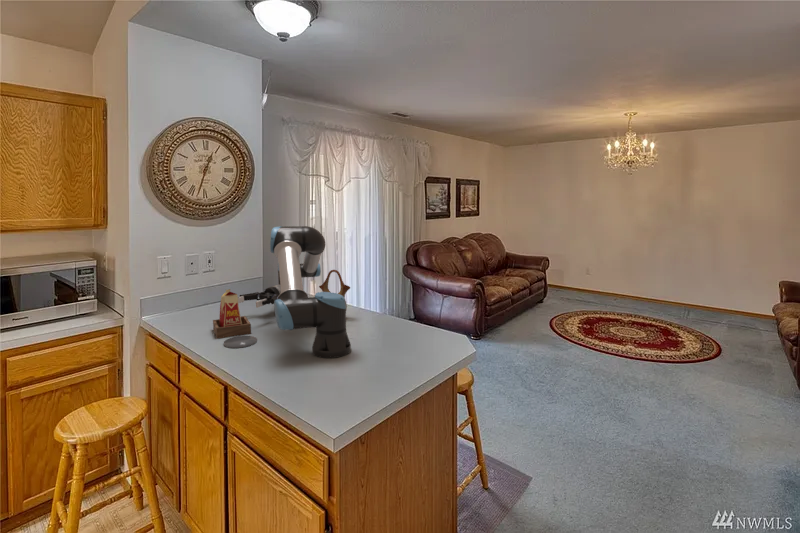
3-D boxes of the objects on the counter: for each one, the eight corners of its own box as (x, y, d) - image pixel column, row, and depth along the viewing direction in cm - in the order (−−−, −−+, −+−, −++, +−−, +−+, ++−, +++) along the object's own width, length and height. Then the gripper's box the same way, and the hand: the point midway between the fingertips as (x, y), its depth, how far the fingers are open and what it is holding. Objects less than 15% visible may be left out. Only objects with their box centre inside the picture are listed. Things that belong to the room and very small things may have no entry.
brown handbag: (353, 317, 212) (353, 268, 208) (347, 322, 203) (346, 271, 199) (323, 315, 216) (322, 267, 211) (316, 320, 207) (314, 270, 203)
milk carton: (244, 332, 188) (241, 288, 185) (222, 335, 184) (219, 291, 180) (239, 326, 196) (237, 284, 193) (218, 329, 191) (215, 287, 188)
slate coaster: (259, 344, 172) (259, 343, 172) (226, 350, 166) (226, 348, 166) (253, 335, 183) (253, 333, 183) (221, 340, 177) (221, 338, 177)
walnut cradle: (251, 333, 186) (250, 323, 185) (217, 338, 179) (216, 328, 179) (245, 325, 198) (245, 315, 197) (213, 329, 191) (212, 320, 191)
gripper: (294, 303, 211) (267, 313, 191) (255, 298, 220) (224, 308, 200) (294, 288, 210) (266, 297, 190) (254, 284, 219) (223, 292, 199)
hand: (244, 303), depth 195 cm, fingers open, 13 cm apart
